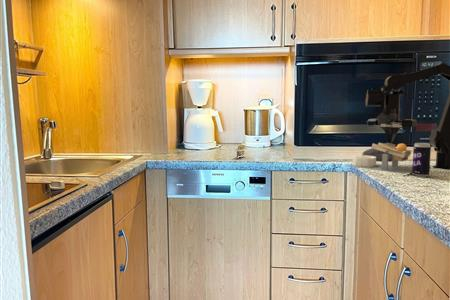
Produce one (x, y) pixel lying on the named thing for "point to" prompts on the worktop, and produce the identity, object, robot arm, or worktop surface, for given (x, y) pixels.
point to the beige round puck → (364, 161)
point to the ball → (401, 147)
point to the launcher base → (388, 166)
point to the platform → (240, 150)
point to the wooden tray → (392, 151)
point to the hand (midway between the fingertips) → (390, 143)
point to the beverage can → (421, 159)
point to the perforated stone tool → (377, 154)
